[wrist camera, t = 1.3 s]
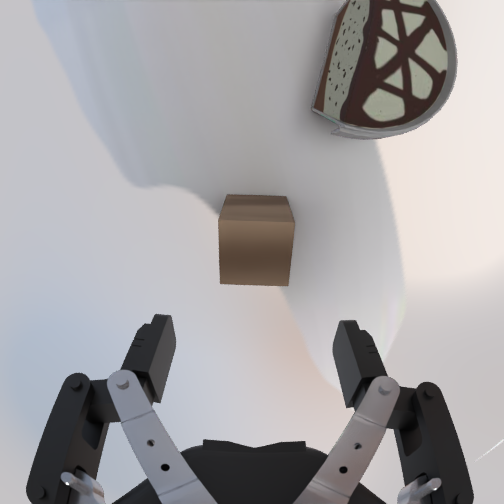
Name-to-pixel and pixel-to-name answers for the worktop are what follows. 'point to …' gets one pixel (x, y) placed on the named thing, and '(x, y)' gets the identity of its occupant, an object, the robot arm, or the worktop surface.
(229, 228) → the walnut block
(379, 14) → the food container
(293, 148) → the worktop surface
